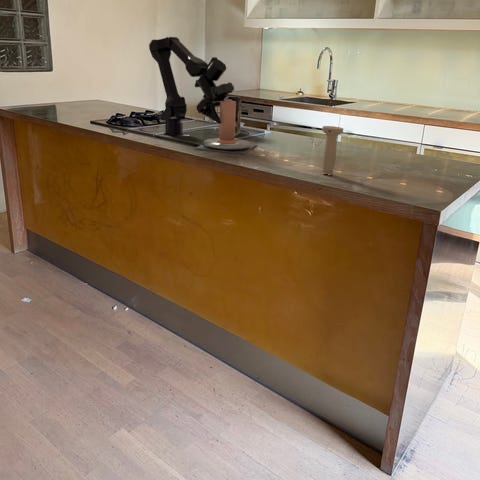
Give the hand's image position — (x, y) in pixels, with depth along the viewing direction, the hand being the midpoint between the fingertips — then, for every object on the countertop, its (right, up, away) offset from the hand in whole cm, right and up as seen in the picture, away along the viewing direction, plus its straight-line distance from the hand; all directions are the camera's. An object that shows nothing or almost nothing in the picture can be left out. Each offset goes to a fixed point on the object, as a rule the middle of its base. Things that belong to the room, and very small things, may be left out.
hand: (228, 122), depth 184 cm
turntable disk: (-1, -9, +4) cm, 10 cm away
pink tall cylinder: (-1, -7, +3) cm, 8 cm away
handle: (+32, -24, -28) cm, 49 cm away
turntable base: (-1, -9, +4) cm, 10 cm away
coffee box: (0, +2, +32) cm, 32 cm away
